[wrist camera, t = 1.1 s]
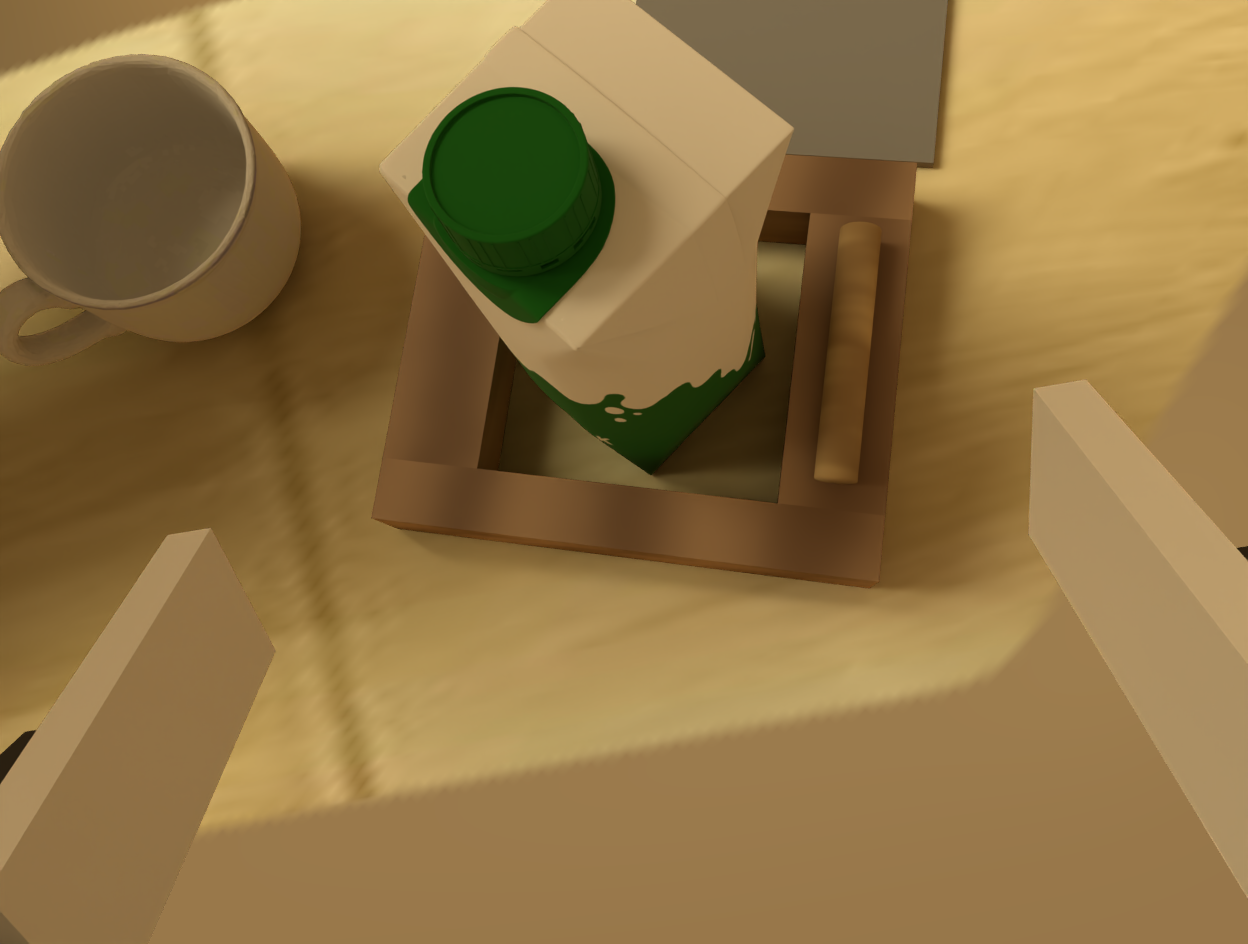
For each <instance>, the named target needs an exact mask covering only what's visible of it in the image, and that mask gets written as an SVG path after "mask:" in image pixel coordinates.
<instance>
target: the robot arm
mask: <svg viewBox="0 0 1248 944" xmlns="http://www.w3.org/2000/svg"><path fill="white" fill-rule="evenodd" d="M1028 535H1029V536H1030V538H1031V540H1032V541H1033V543H1034V545H1035V546H1036V548H1037V550H1038V551H1039V553H1040V555H1041V556H1042V558H1043V560H1044V561H1045V563H1046V565H1047V566H1048V568H1049V570H1050V571H1051V573H1052V574H1053V576H1054V578H1055V579H1056V581H1057V583H1058V584H1059V586H1060V588H1061V589H1062V591H1063V593H1064V594H1065V596H1066V598H1067V599H1068V601H1069V603H1070V604H1071V606H1072V608H1073V609H1074V611H1075V613H1076V614H1077V616H1078V618H1079V619H1080V621H1081V623H1082V624H1083V626H1084V628H1085V629H1086V631H1087V633H1088V634H1089V636H1090V638H1091V639H1092V641H1093V643H1094V644H1095V646H1096V647H1097V649H1098V651H1099V653H1100V654H1101V656H1102V657H1103V659H1104V661H1105V663H1106V664H1107V666H1108V667H1109V669H1110V671H1111V673H1112V674H1113V676H1114V678H1115V679H1116V681H1117V683H1118V684H1119V686H1120V687H1121V689H1122V691H1123V693H1124V694H1125V696H1126V697H1127V699H1128V701H1129V702H1130V704H1131V706H1132V707H1133V709H1134V711H1135V712H1136V714H1137V716H1138V717H1139V719H1140V721H1141V722H1142V724H1143V726H1144V727H1145V729H1146V731H1147V732H1148V734H1149V735H1150V737H1151V739H1152V741H1153V742H1154V744H1155V746H1156V747H1157V749H1158V751H1159V752H1160V754H1161V756H1162V757H1163V759H1164V761H1165V762H1166V764H1167V766H1168V767H1169V769H1170V770H1171V772H1172V774H1173V775H1174V777H1175V779H1176V781H1177V782H1178V784H1179V785H1180V787H1181V789H1182V791H1183V792H1184V794H1185V796H1186V797H1187V799H1188V800H1189V802H1190V804H1191V805H1192V807H1193V809H1194V810H1195V812H1196V814H1197V815H1198V817H1199V819H1200V820H1201V822H1202V824H1203V825H1204V827H1205V829H1206V830H1207V832H1208V833H1209V835H1210V837H1211V839H1212V840H1213V842H1214V844H1215V845H1216V847H1217V849H1218V850H1219V852H1220V854H1221V855H1222V857H1223V859H1224V860H1225V862H1226V864H1227V865H1228V867H1229V868H1230V870H1231V872H1232V874H1233V875H1234V877H1235V879H1236V880H1237V882H1238V884H1239V885H1240V887H1241V888H1242V890H1243V892H1244V894H1245V895H1246V897H1247V899H1248V546H1247V547H1240V548H1236V547H1235V546H1234V545H1233V544H1232V543H1231V542H1230V541H1229V539H1228V538H1227V537H1226V536H1225V535H1224V534H1223V533H1222V531H1221V530H1220V529H1219V528H1218V527H1217V526H1216V525H1215V524H1214V522H1213V521H1212V520H1211V519H1210V518H1209V517H1208V516H1207V515H1206V514H1205V512H1204V511H1203V510H1202V509H1201V508H1200V507H1199V506H1198V504H1197V503H1196V502H1195V501H1194V500H1193V499H1192V498H1191V497H1190V496H1189V494H1188V493H1187V492H1186V491H1185V490H1184V489H1183V488H1182V486H1181V485H1180V484H1179V483H1178V482H1177V481H1176V480H1175V479H1174V478H1173V476H1172V475H1171V474H1170V473H1169V472H1168V471H1167V470H1166V469H1165V468H1164V466H1163V465H1162V464H1161V463H1160V462H1159V461H1158V460H1157V458H1156V457H1155V456H1154V455H1153V454H1152V453H1151V452H1150V451H1149V449H1148V448H1147V447H1146V446H1145V445H1144V444H1143V443H1142V442H1141V440H1140V439H1139V438H1138V437H1137V436H1136V435H1135V434H1134V433H1133V431H1132V430H1131V429H1130V428H1129V427H1128V426H1127V425H1126V424H1125V423H1124V421H1123V420H1122V419H1121V418H1120V417H1119V416H1118V415H1117V414H1116V412H1115V411H1114V410H1113V409H1112V408H1111V407H1110V406H1109V405H1108V403H1107V402H1106V401H1105V400H1104V399H1103V398H1102V397H1101V396H1100V394H1099V393H1098V392H1097V391H1096V390H1095V389H1094V388H1093V387H1092V385H1091V384H1090V383H1089V382H1088V381H1087V380H1086V379H1085V380H1079V381H1073V382H1067V383H1062V384H1056V385H1050V386H1044V387H1038V388H1033V414H1032V443H1031V473H1030V503H1029V533H1028ZM274 653H275V649H274V647H273V645H272V643H271V641H270V639H269V637H268V635H267V633H266V631H265V630H264V628H263V626H262V624H261V622H260V620H259V618H258V616H257V614H256V612H255V611H254V609H253V607H252V605H251V603H250V601H249V599H248V597H247V595H246V593H245V591H244V590H243V588H242V586H241V584H240V582H239V580H238V578H237V576H236V574H235V572H234V570H233V569H232V567H231V565H230V563H229V561H228V559H227V557H226V555H225V553H224V551H223V550H222V548H221V546H220V544H219V542H218V540H217V538H216V536H215V534H214V532H213V530H212V529H211V528H206V529H200V530H194V531H188V532H182V533H176V534H170V535H167V536H166V538H165V539H164V541H163V542H162V544H161V545H160V547H159V548H158V550H157V551H156V553H155V554H154V556H153V557H152V559H151V560H150V562H149V563H148V565H147V566H146V568H145V569H144V571H143V572H142V573H141V575H140V576H139V578H138V579H137V581H136V582H135V584H134V585H133V587H132V588H131V590H130V591H129V593H128V594H127V596H126V597H125V599H124V600H123V602H122V603H121V605H120V606H119V608H118V609H117V611H116V612H115V614H114V615H113V617H112V618H111V620H110V621H109V623H108V624H107V626H106V627H105V629H104V630H103V632H102V633H101V635H100V636H99V638H98V639H97V641H96V642H95V644H94V645H93V647H92V648H91V650H90V651H89V653H88V654H87V656H86V657H85V659H84V660H83V662H82V663H81V665H80V666H79V668H78V669H77V671H76V672H75V674H74V675H73V677H72V678H71V680H70V681H69V683H68V684H67V685H66V687H65V688H64V690H63V691H62V693H61V694H60V696H59V697H58V699H57V700H56V702H55V703H54V705H53V706H52V708H51V709H50V711H49V712H48V714H47V715H46V717H45V718H44V720H43V721H42V723H41V724H40V726H39V727H38V729H37V730H34V731H27V732H24V733H23V734H22V735H21V736H20V737H19V738H18V739H17V740H16V741H15V742H14V743H13V744H11V745H10V746H9V747H8V748H7V749H6V750H5V751H4V752H3V753H2V754H1V755H0V944H148V943H149V941H150V938H151V936H152V933H153V931H154V929H155V927H156V924H157V922H158V920H159V918H160V915H161V913H162V911H163V908H164V906H165V904H166V901H167V899H168V897H169V895H170V892H171V890H172V888H173V885H174V883H175V881H176V878H177V876H178V874H179V871H180V869H181V867H182V865H183V862H184V860H185V858H186V855H187V853H188V851H189V848H190V846H191V844H192V842H193V839H194V837H195V835H196V833H197V830H198V828H199V826H200V823H201V821H202V819H203V816H204V814H205V812H206V810H207V807H208V805H209V803H210V800H211V798H212V796H213V794H214V791H215V789H216V787H217V784H218V782H219V780H220V777H221V775H222V773H223V771H224V768H225V766H226V764H227V761H228V759H229V757H230V754H231V752H232V750H233V748H234V745H235V743H236V741H237V738H238V736H239V734H240V731H241V729H242V727H243V725H244V722H245V720H246V718H247V715H248V713H249V711H250V709H251V706H252V704H253V702H254V699H255V697H256V695H257V692H258V690H259V688H260V686H261V683H262V681H263V679H264V676H265V674H266V672H267V669H268V667H269V665H270V663H271V660H272V658H273V656H274Z"/></svg>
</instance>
